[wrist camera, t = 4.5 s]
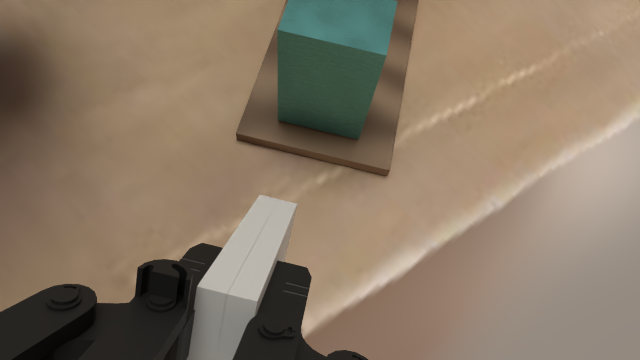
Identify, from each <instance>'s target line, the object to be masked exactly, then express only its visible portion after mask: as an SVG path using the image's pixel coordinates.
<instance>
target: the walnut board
mask: <svg viewBox="0 0 640 360" xmlns="http://www.w3.org/2000/svg"><path fill="white" fill-rule="evenodd" d="M395 1H397V6H396V11H395V16H394V21H393V26H392V31H391V36H390V41H389V46H388V51H387V56H386V59H385V62H384V65H383V68H382V71H381V74H380V77H379V80H378V83H377V86H376V89H375V92H374V95H373V98H372V101H371V104H370V107H369V110H368V114H367V117H366V120H365V123H364V126H363V129H362V132H361V135H360V138H359V140H358V139H354V138H349V137H345V136H341V135H337V134H333V133H329V132H324V131H320V130H316V129H312V128H308V127H304V126H300V125H295V124H291V123H287V122H283V121H279V120H278V59H277V29H278V27H279V24H280V21H281V19H282V16H283V13H284V11H285V8H286V5H287V3H288V0H286V2H285V5H284V8H283V10H282V13H281V16H280V18H279V21H278V23H277V26H276V29H275V31H274V34H273V37H272V39H271V42H270V45H269V47H268V50H267V53H266V55H265V58H264V61H263V63H262V66H261V69H260V71H259V74H258V76H257V79H256V82H255V84H254V87H253V90H252V92H251V95H250V98H249V100H248V103H247V106H246V108H245V111H244V114H243V116H242V119H241V122H240V124H239V127H238V129H237V132H236V136H237V140H241V141H245V142H249V143H253V144H257V145H261V146H265V147H270V148H274V149H278V150H282V151H286V152H290V153H294V154H299V155H303V156H307V157H311V158H315V159H319V160H323V161H328V162H332V163H336V164H340V165H344V166H348V167H352V168H357V169H361V170H365V171H369V172H373V173H377V174H381V175H385V176H387V174H388V172H389V170H390V164H391V158H392V152H393V146H394V141H395V135H396V129H397V123H398V117H399V111H400V105H401V99H402V93H403V87H404V81H405V75H406V69H407V63H408V57H409V51H410V46H411V40H412V34H413V28H414V22H415V16H416V10H417V4H418V0H395Z"/></svg>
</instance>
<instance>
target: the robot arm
mask: <svg viewBox="0 0 640 360" xmlns="http://www.w3.org/2000/svg"><path fill="white" fill-rule="evenodd" d="M296 207H297V204H296V203H292V202H288V201H284V200H280V199H276V198H272V197H267V196H263V195H259V197H258V198H257V200H256V201H255V202H254V204H253V205H252V207H251V208H250V210H249V211H248V213H247V214H246V216H245V217H244V219H243V220H242V221H241V223H240V224H239V226H238V227H237V229H236V230H235V232H234V233H233V235H232V236H231V238H230V239H229V240H228V242H227V243H226V245H225V246H224V248H221V247H217V246H213V245H209V244H205V243H201V244H199V245H196V246H194V247H192V248H190V249H189V250H188V251H187V252H186V254H185V255H184V256H183V258H182V259H181V260H180V261H179V262H178V261H174V260H167V259H162V260H153V261H150V262H146V263H144V264H142V265H141V266H139V267H138V270H137V281H136V292H135V297H134V298H133V299H132V300H131V301H130V302H129V303H119V304H113V303H97V297H96V294H95V292H94V291H93V290H92V289H90V288H89V287H86V286H83V285H79V284H63V285H57V286H53V287H50V288H47V289H45V290H42V291H40V292H38V293H37V294H35V295H33V296H31V297H29V298H27V299H25V300H23V301H21V302H19V303H17V304H15V305H13V306H11V307H9V308H8V309H6V310H4V311H2V312H0V360H368V359H367V358H365V357H364V356H361V355H360V354H358V353H356V352H351V351H347V350H342V351H335V352H333V353H331V354H328V356H327V357H325V356H323V355H322V354H320V353H318V352H317V351H315V350H313V349H312V348H311V347H310V346H309V345H308V344H307V343H306V342H305V340H304V339H303V337H302V334H301V325H302V320H303V315H304V311H305V306H306V301H307V297H308V292H309V287H310V283H311V275H310V273H309V271H308V269H307V268H306V267H302V266H298V265H294V264H290V263H286V262H284V261H285V256H286V252H287V247H288V243H289V238H290V234H291V229H292V225H293V220H294V216H295V211H296Z"/></svg>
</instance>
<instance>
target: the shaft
mask: <svg viewBox="0 0 640 360" xmlns="http://www.w3.org/2000/svg"><path fill="white" fill-rule="evenodd" d="M396 6H397V1H395V0H288V3H287V5H286V8H285V11H284V13H283V16H282V19H281V21H280V24H279V27H278V29H277V59H278V120H279V121H283V122H287V123H291V124H295V125H300V126H304V127H308V128H312V129H316V130H320V131H324V132H329V133H333V134H337V135H341V136H345V137H349V138H354V139H358V140H359V138H360V135H361V132H362V129H363V126H364V123H365V120H366V117H367V114H368V110H369V107H370V104H371V101H372V98H373V95H374V92H375V89H376V86H377V83H378V80H379V77H380V74H381V71H382V68H383V65H384V62H385V59H386V56H387V51H388V46H389V41H390V36H391V31H392V26H393V21H394V16H395V11H396Z"/></svg>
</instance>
